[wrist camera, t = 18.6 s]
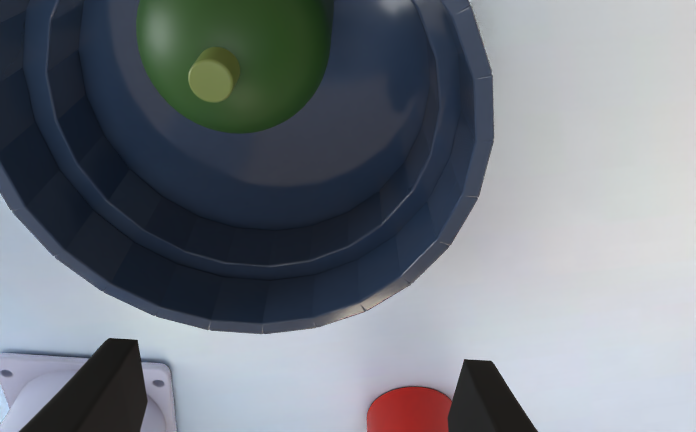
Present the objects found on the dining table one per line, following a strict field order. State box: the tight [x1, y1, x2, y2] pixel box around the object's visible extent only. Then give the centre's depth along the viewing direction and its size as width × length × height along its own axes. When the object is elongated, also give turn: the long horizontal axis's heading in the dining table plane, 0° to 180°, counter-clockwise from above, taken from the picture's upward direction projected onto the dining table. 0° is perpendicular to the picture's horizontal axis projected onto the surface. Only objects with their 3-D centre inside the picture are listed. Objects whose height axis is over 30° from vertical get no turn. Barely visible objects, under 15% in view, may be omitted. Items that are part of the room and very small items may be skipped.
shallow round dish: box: [0, 0, 494, 334], centre depth 17 cm, size 14×14×5 cm
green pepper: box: [136, 0, 334, 134], centre depth 14 cm, size 5×5×7 cm
